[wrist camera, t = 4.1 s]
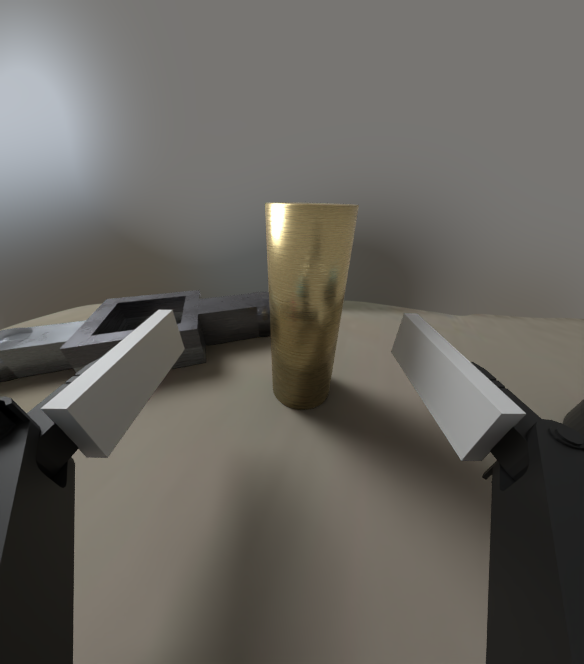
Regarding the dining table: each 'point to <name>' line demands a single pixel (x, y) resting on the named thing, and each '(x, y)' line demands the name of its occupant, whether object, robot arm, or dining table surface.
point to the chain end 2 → (198, 316)
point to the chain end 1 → (45, 342)
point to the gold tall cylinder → (306, 295)
